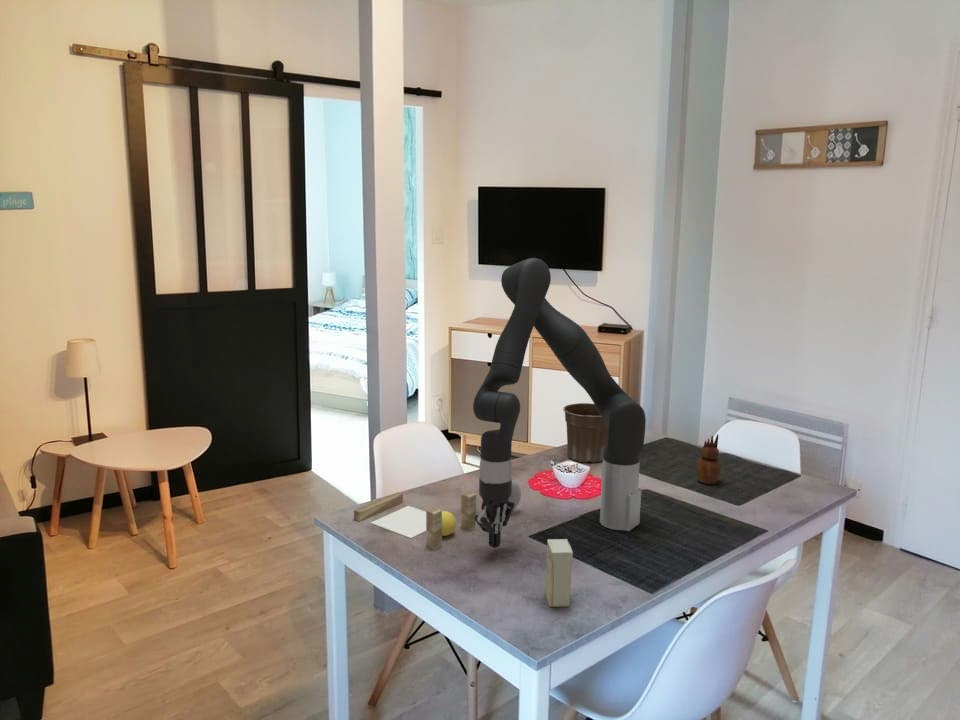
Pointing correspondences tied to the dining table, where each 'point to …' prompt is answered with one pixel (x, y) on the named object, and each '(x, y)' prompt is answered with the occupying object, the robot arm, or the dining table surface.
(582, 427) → the plant pot
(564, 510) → the dining table surface
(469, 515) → the post right
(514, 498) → the donut
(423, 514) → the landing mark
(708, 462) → the wooden figurine
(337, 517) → the dining table surface
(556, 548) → the skincare box
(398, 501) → the wall
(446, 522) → the ball
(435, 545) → the post left
